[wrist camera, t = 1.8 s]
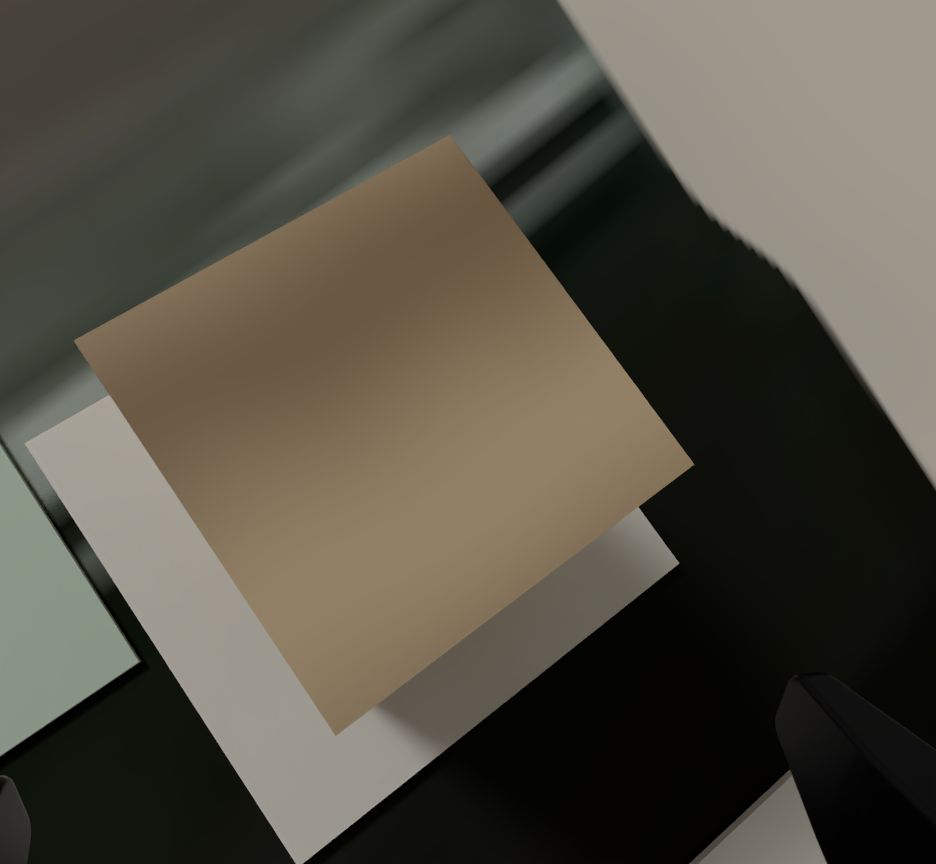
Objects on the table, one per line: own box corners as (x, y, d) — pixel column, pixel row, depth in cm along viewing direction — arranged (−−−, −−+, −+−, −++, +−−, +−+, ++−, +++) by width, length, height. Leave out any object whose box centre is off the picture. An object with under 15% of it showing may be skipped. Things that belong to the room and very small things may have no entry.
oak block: (528, 535, 21) (693, 464, 11) (335, 676, 19) (335, 735, 10) (397, 351, 21) (449, 134, 12) (200, 475, 20) (73, 341, 10)
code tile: (674, 564, 22) (680, 563, 21) (298, 863, 18) (297, 867, 18) (423, 219, 23) (424, 213, 22) (29, 446, 20) (23, 442, 19)
